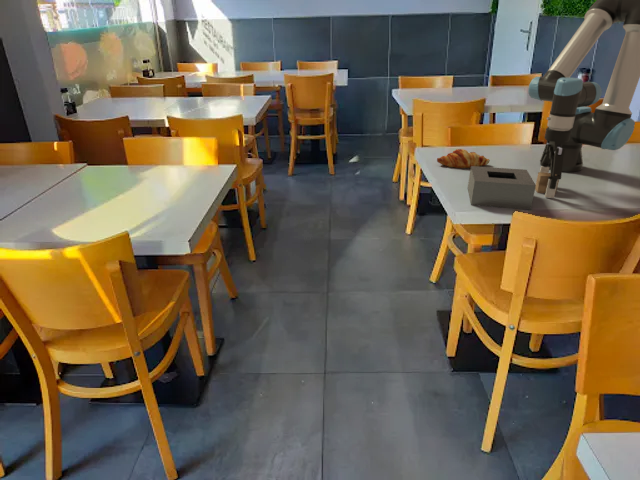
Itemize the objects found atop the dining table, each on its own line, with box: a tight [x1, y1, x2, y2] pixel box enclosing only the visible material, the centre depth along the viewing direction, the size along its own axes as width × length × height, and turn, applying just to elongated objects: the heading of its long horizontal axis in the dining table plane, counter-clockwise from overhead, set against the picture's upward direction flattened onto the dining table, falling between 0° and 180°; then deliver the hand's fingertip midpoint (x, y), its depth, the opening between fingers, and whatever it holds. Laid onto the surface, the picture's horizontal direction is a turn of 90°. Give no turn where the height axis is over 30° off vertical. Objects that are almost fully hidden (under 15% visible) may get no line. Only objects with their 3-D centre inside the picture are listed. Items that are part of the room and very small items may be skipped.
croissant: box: [436, 148, 491, 169], centre depth 192 cm, size 21×10×8 cm, turn 95°
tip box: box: [467, 166, 536, 211], centre depth 158 cm, size 18×16×8 cm
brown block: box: [535, 171, 560, 195], centre depth 165 cm, size 6×4×6 cm, turn 78°
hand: (545, 190), depth 166 cm, fingers open, 12 cm apart
